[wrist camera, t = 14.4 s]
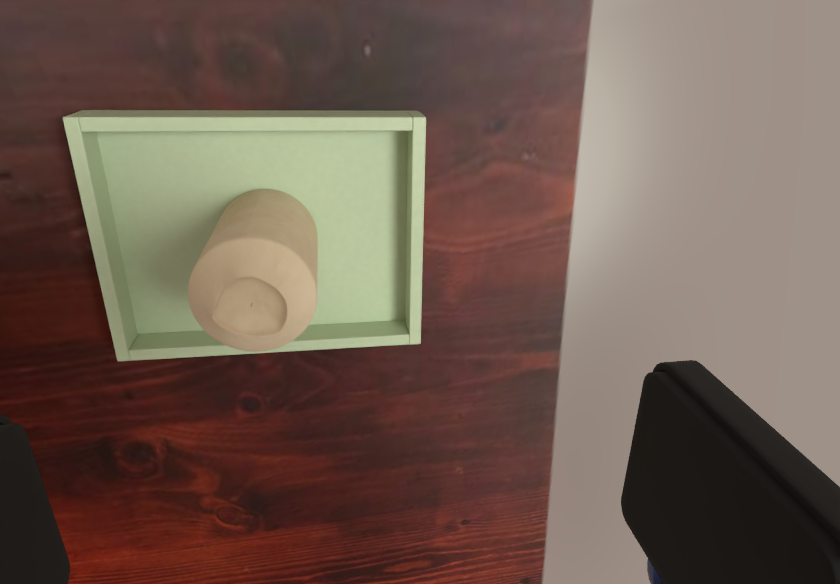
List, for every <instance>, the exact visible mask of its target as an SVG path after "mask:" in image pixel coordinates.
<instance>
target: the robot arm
mask: <svg viewBox="0 0 840 584" xmlns="http://www.w3.org/2000/svg"><path fill="white" fill-rule="evenodd" d="M621 505H622V512H623V516H624V518H625V521H626V522H627V524H628V526H629V527H630V529H631V531H632V533H633V534H634V536H635V538H636V539H637V541H638V542H639V544H640V546H641V547H642V549H643V551H644V552H645V554H646V556H647V557H648V559H649V560H650V562H651V564H652V565H653V567H654V569H655V570H656V572H657V574H658V575H659V577H660V578H661V580H662V582H663V583H664V584H840V487H839V486H838V485H837V484H835V483H834V482H833V481H832V480H831V479H830V478H829V477H828V476H826V475H825V474H824V473H823V472H822V471H821V470H820V469H818V468H817V467H816V466H815V465H814V464H813V463H812V462H811V461H810V460H808V459H807V458H806V457H805V456H804V455H803V454H802V453H800V452H799V451H798V450H797V449H796V448H795V447H794V446H793V445H791V444H790V443H789V442H788V441H787V440H786V439H785V438H784V437H782V436H781V435H780V434H779V433H778V432H777V431H776V430H775V429H774V428H772V427H771V426H770V425H769V424H768V423H767V422H766V421H765V420H763V419H762V418H761V417H760V416H759V415H758V414H756V412H754V411H753V410H752V409H751V408H750V407H749V406H748V405H746V404H745V403H744V402H743V401H742V400H741V399H740V398H739V397H738V396H736V395H735V394H734V393H733V392H732V391H731V390H730V389H728V388H727V387H726V386H725V385H724V384H723V383H722V382H721V381H720V380H718V379H717V378H716V377H715V376H714V375H713V374H712V373H711V372H709V371H708V370H707V369H706V368H705V367H704V366H703V365H702V364H700V363H699V362H697V361H692V360H690V361H677V362H664V363H659V364H657V365H656V367H655V368H654V370H653V372H652V373H648V374H647V375H646V377H645V379H644V382H643V388H642V393H641V398H640V404H639V409H638V414H637V419H636V424H635V430H634V435H633V440H632V446H631V451H630V456H629V461H628V466H627V472H626V477H625V482H624V487H623V493H622V498H621ZM69 574H70V564H69V559H68V556H67V553H66V550H65V547H64V544H63V541H62V538H61V535H60V532H59V529H58V526H57V523H56V520H55V518H54V515H53V512H52V509H51V506H50V503H49V500H48V497H47V494H46V491H45V488H44V485H43V482H42V479H41V476H40V473H39V470H38V467H37V464H36V461H35V458H34V455H33V452H32V449H31V446H30V443H29V440H28V437H27V434H26V432H25V430H24V428H23V427H22V426H21V425H19V424H12V422H11V420H10V419H9V418H8V417H6V416H4V415H0V584H68V580H69Z"/></svg>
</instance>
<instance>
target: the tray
mask: <svg viewBox="0 0 840 584" xmlns="http://www.w3.org/2000/svg"><path fill="white" fill-rule="evenodd" d="M63 122H64V127H65V131H66V135H67V140H68V144H69V149H70V153H71V158H72V162H73V167H74V171H75V175H76V180H77V184H78V189H79V193H80V198H81V202H82V206H83V211H84V215H85V220H86V224H87V229H88V233H89V237H90V242H91V246H92V251H93V255H94V260H95V264H96V269H97V273H98V277H99V282H100V286H101V291H102V295H103V300H104V304H105V308H106V313H107V317H108V322H109V326H110V331H111V335H112V339H113V344H114V348H115V353H116V357H117V361H130V360H131V361H133V360H150V359H167V358H184V357H201V356H218V355H235V354H252V353H269V352H287V351H304V350H321V349H338V348H355V347H372V346H389V345H406V344H420V343H421V304H422V263H423V223H424V182H425V142H426V117H425V116H424V115H423V114H421V113H420V112H419V111H326V110H82V111H79V112H76V113H73V114H71V115H68V116H65V117H63ZM259 189H273V190H278V191H282V192H285V193H287V194H289V195H291V196H293V197H295V198H296V199H297V200H299V201H300V202H301V203H302V204H303V205H304V206H305V207H306V208H307V209H308V211H309V212H310V214H311V216H312V218H313V220H314V222H315V225H316V228H317V236H318V271H317V304H316V309H315V313H314V315H313V318H312V320H311V322H310V323H309V325H308V326H307V328H306V329H305V330H304V331H303V332H302V333H301V334H300V335H299V336H298V337H297V338H295V339H294V340H293V341H291V342H289V343H288V344H286V345H283V346H281V347H279V348H275V349H272V350H266V351H244V350H239V349H235V348H232V347H229V346H227V345H224V344H222V343H220V342H219V341H217V340H215V339H214V338H212V337H211V336H210V335H209V334H207V333H206V332H205V331H204V330H203V329H202V327H201V326H200V325H199V324H198V322H197V321H196V319H195V318H194V315H193V313H192V311H191V308H190V305H189V300H188V284H189V279H190V276H191V273H192V271H193V269H194V267H195V265H196V263H197V261H198V260H199V258H200V256H201V254H202V252H203V250H204V248H205V246H206V244H207V242H208V240H209V238H210V236H211V235H212V233H213V231H214V229H215V227H216V225H217V223H218V221H219V219H220V217H221V215H222V214H223V212H224V211H225V209H226V208H227V206H228V205H229V204H230V203H231V202H232V201H234V200H235V199H236V198H238V197H239V196H241V195H243V194H245V193H247V192H250V191H253V190H259Z"/></svg>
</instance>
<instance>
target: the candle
mask: <svg viewBox="0 0 840 584" xmlns="http://www.w3.org/2000/svg"><path fill="white" fill-rule="evenodd" d="M317 271H318V236H317V228H316V225H315V222H314V220H313V218H312V216H311V214H310V212H309V211H308V209H307V208H306V207H305V206H304V205H303V204H302V203H301V202H300V201H299V200H297V199H296V198H295V197H293V196H291V195H289V194H287V193H285V192H282V191H278V190H273V189H259V190H253V191H250V192H247V193H245V194H243V195H241V196H239V197H238V198H236V199H235V200H234V201H232V202H231V203H230V204H229V205H228V206H227V208H226V209H225V211H224V212H223V214H222V215H221V217H220V219H219V221H218V223H217V225H216V227H215V229H214V231H213V233H212V235H211V236H210V238H209V240H208V242H207V244H206V246H205V248H204V250H203V252H202V254H201V256H200V258H199V260H198V261H197V263H196V265H195V267H194V269H193V271H192V273H191V276H190V279H189V284H188V300H189V305H190V308H191V311H192V313H193V315H194V318H195V319H196V321H197V322H198V324H199V325H200V326H201V327H202V329H203V330H204V331H205V332H206V333H207V334H209V335H210V336H211V337H212V338H214V339H215V340H217V341H219V342H220V343H222V344H224V345H227V346H229V347H232V348H235V349H239V350H244V351H266V350H272V349H275V348H279V347H281V346H283V345H286V344H288V343H289V342H291V341H293V340H294V339H295V338H297V337H298V336H299V335H300V334H301V333H302V332H303V331H304V330H305V329H306V328H307V326H308V325H309V323H310V322H311V320H312V318H313V315H314V313H315V309H316V304H317Z"/></svg>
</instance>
